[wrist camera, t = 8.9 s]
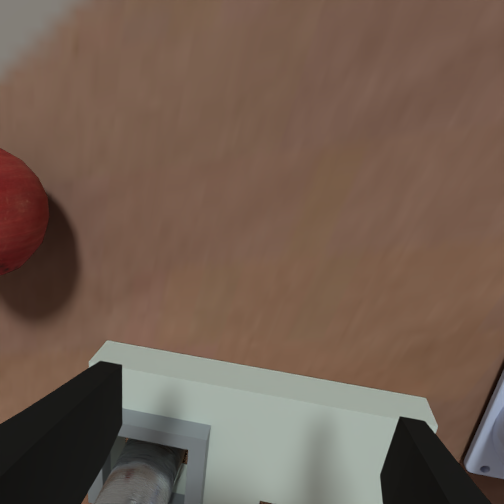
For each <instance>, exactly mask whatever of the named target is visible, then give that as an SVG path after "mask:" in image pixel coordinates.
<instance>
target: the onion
mask: <svg viewBox="0 0 504 504" xmlns="http://www.w3.org/2000/svg"><path fill="white" fill-rule="evenodd" d="M48 220H49V207H48V197H47V195H46V193H45V191H44V189H43V186H42V184H41V182H40V180H39V178H38V177H37V176H36V175H35V174H34V173H33V171H32V170H31V169H30V168H29V167H28V166H27V165H26V164H25V163H24V162H23V161H22V160H20V159H19V158H17V157H15V156H13V155H12V154H10V153H8V152H6V151H5V150H3V149H1V148H0V275H3V274H6V273H8V272H11V271H13V270H16V269H18V268H20V267H21V266H22V265H23V264H24V263H25V262H26V261H27V260H28V259H29V258H30V257H31V256H32V254H33V253H34V252H35V251H36V250H37V248H38V247H39V246H40V245H41V244H42V242H43V239H44V235H45V232H46V228H47V224H48Z"/></svg>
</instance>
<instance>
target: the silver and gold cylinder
mask: <svg viewBox="0 0 504 504" xmlns="http://www.w3.org/2000/svg"><path fill="white" fill-rule="evenodd" d="M186 450H187V449H182V448H177V447H172V446H167V445H162V444H157V443H152V442H147V441H142V440H137V439H132V438H129V439H128V440H127V442H126V444H125V446H124V448H123V450H122V452H121V454H120V455H119V457H118V459H117V461H116V463H115V465H114V467H113V469H112V470H111V472H110V474H109V476H108V478H107V480H106V482H105V484H104V485H103V487H102V489H101V491H100V493H99V495H98V497H97V499H96V501H95V502H94V504H168V502H169V499H170V496H171V493H172V490H173V488H174V485H175V482H176V479H177V476H178V473H179V470H180V467H181V464H182V461H183V458H184V456H185V453H186Z"/></svg>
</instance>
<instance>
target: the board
mask: <svg viewBox="0 0 504 504" xmlns="http://www.w3.org/2000/svg"><path fill="white" fill-rule="evenodd" d="M99 361H105V362H110V363H116V364H121V365H122V426H121V429H120V431H119V433H118V436H117V438H116V440H115V442H114V445H113V447H112V449H111V451H110V453H109V455H108V458H107V460H106V462H105V464H104V465H103V467H102V469H101V471H100V472H99V474H98V476H97V478H96V479H95V481H94V483H93V484H92V486H91V488H90V489H89V491H88V499H89V503H93V504H94V502H95V501H96V499H97V497H98V495H99V493H100V491H101V489H102V487H103V485H104V484H105V482H106V480H107V478H108V476H109V474H110V472H111V470H112V469H113V467H114V465H115V463H116V461H117V459H118V457H119V455H120V454H121V452H122V450H123V448H124V446H125V437H127V438H132V439H137V440H142V441H147V442H152V443H157V444H162V445H167V446H172V447H177V448H182V449H187V450H188V462H187V464H183V463H182V464H181V467H180V470H179V473H178V476H177V479H176V482H175V485H174V488H173V490H172V493H171V496H170V499H169V502H168V504H259V503H260V501H264V502H268V503H273V504H383V501H382V491H381V482H380V473H381V470H382V467H383V464H384V461H385V458H386V455H387V452H388V449H389V446H390V443H391V440H392V437H393V434H394V432H395V429H396V426H397V423H398V420H399V417H400V416H402V417H407V418H413V419H418V420H423V421H425V422H426V423H427V424H428V425H429V427H430V428H431V429H432V430H433V432H434V433H436V431H437V428H438V425H437V423H436V421H435V418H434V416H433V414H432V411H431V409H430V407H429V404H428V402H427V400H426V398H423V397H417V396H412V395H406V394H401V393H395V392H389V391H384V390H378V389H373V388H367V387H362V386H356V385H351V384H345V383H340V382H334V381H329V380H323V379H318V378H312V377H307V376H301V375H296V374H290V373H284V372H279V371H273V370H268V369H262V368H257V367H251V366H246V365H240V364H235V363H229V362H224V361H218V360H213V359H207V358H202V357H196V356H191V355H185V354H179V353H174V352H168V351H163V350H157V349H152V348H146V347H141V346H135V345H130V344H124V343H119V342H113V341H108V340H107V341H106V342H105V343H104V345H103V346H102V347H101V348H100V349H99V350H98V352H97V353H96V354H95V355H94V356H93V358H92V359H91V360H90V361H89V367H91V366H92V365H94V364H96V363H97V362H99Z"/></svg>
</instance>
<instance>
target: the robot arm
mask: <svg viewBox="0 0 504 504" xmlns="http://www.w3.org/2000/svg"><path fill="white" fill-rule="evenodd" d="M121 426H122V365H121V364H116V363H110V362H105V361H99V362H97V363H96V364H94V365H92V366H91V367H89V368H88V369H86V370H85V371H83V372H82V373H80V374H79V375H77V376H76V377H74V378H73V379H71V380H70V381H68V382H67V383H65V384H64V385H62V386H61V387H59V388H58V389H56V390H55V391H53V392H52V393H50V394H48V395H47V396H45V397H44V398H42V399H41V400H39V401H37V402H36V403H34V404H33V405H31V406H30V407H28V408H27V409H25V410H23V411H22V412H20V413H18V414H17V415H15V416H13V417H12V418H10V419H8V420H7V421H5V422H3V423H1V424H0V504H81V503H82V501H83V500H84V498H85V496H86V494H87V493H88V491H89V489H90V488H91V486H92V484H93V483H94V481H95V479H96V478H97V476H98V474H99V472H100V471H101V469H102V467H103V465H104V464H105V462H106V460H107V458H108V455H109V453H110V451H111V449H112V447H113V445H114V442H115V440H116V438H117V436H118V433H119V431H120V429H121ZM464 465H465V467H466V469H467V471H469V472H471V473H474V474H480V475H485V476H490V477H495V478H500V479H504V370H503V372H502V374H501V377H500V379H499V381H498V384H497V386H496V388H495V390H494V393H493V395H492V397H491V400H490V402H489V404H488V406H487V409H486V411H485V413H484V416H483V418H482V420H481V422H480V425H479V427H478V429H477V432H476V434H475V436H474V438H473V441H472V443H471V445H470V448H469V450H468V452H467V454H466V457H465V459H464ZM380 482H381V491H382V501H383V504H491V503H490V501H489V500H488V499H487V498H486V497H485V495H484V494H483V493H482V492H481V491H480V489H479V488H478V487H477V486H476V484H475V483H474V482H473V481H472V479H471V478H470V477H469V476H468V475H467V473H466V472H465V471H464V470H463V468H462V467H461V466H460V464H459V463H458V462H457V461H456V459H455V458H454V457H453V456H452V454H451V453H450V452H449V451H448V449H447V448H446V447H445V445H444V444H443V443H442V442H441V440H440V439H439V438H438V437H437V435H436V434H435V433H434V432H433V430H432V429H431V428H430V427H429V425H428V424H427V423H426V422H425V421H423V420H418V419H413V418H407V417H402V416H400V417H399V420H398V423H397V426H396V429H395V432H394V434H393V437H392V440H391V443H390V446H389V449H388V452H387V455H386V458H385V461H384V464H383V467H382V470H381V473H380Z"/></svg>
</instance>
